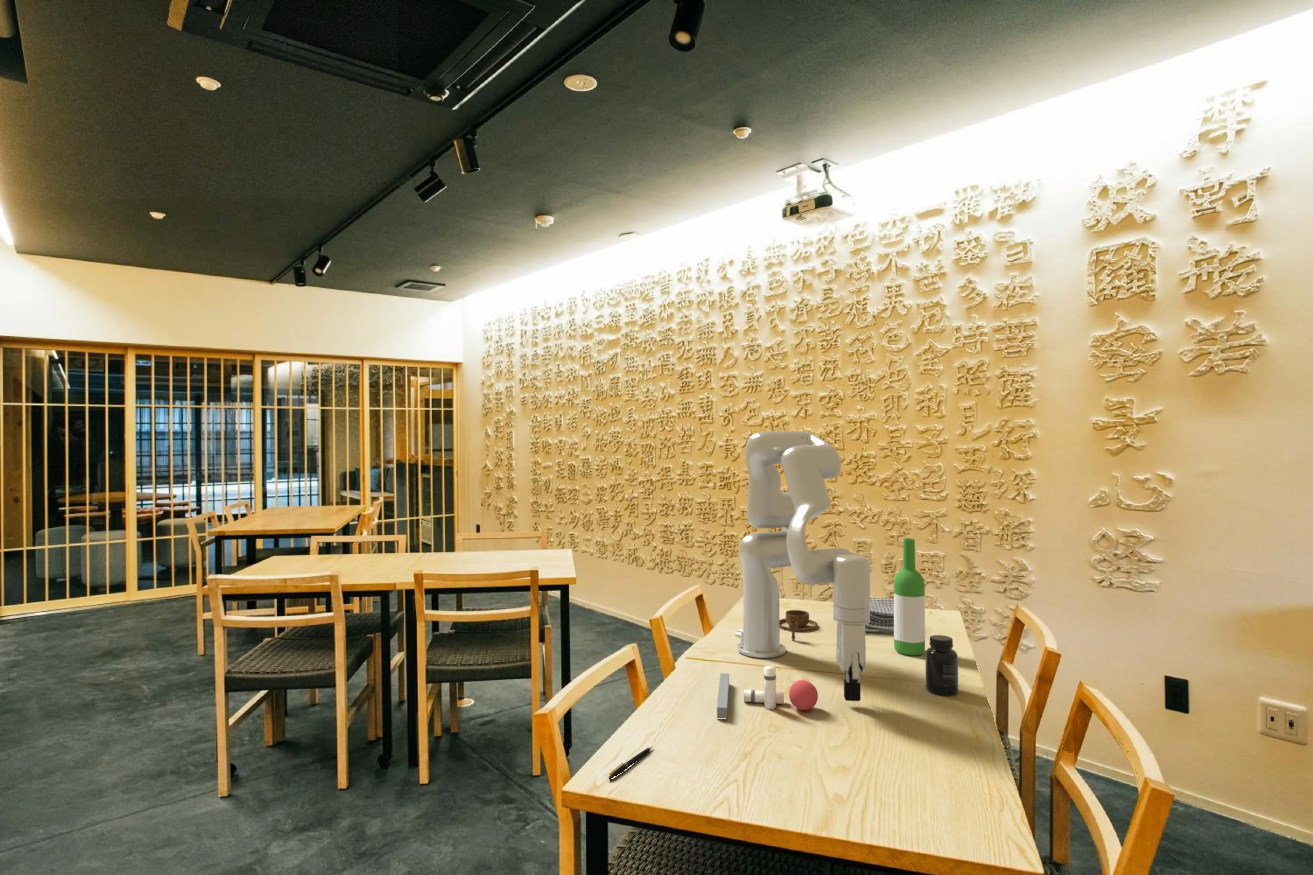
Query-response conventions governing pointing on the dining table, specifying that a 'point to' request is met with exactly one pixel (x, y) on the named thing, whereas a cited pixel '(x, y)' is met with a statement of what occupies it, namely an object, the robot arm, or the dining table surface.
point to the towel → (881, 615)
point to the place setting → (797, 622)
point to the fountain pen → (628, 763)
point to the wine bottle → (909, 605)
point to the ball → (803, 695)
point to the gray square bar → (723, 696)
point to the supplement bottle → (941, 666)
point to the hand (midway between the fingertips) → (852, 699)
